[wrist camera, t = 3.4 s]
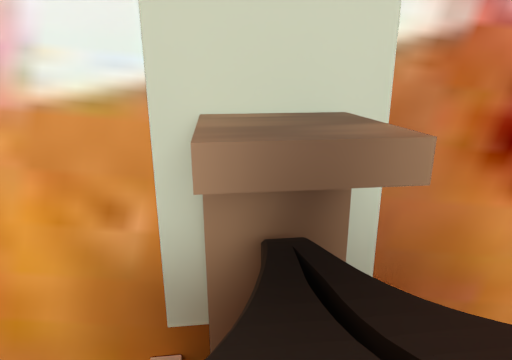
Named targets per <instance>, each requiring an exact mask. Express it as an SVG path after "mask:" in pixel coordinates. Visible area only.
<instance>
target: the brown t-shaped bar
mask: <svg viewBox="0 0 512 360" xmlns="http://www.w3.org/2000/svg"><path fill="white" fill-rule="evenodd" d="M436 140H437V137H436V136H432V135H428V134H425V133H421V132H417V131H414V130H410V129H406V128H402V127H399V126H395V125H391V124H388V123H384V122H380V121H377V120H373V119H369V118H366V117H362V116H358V115H355V114H351V113H347V112H314V113H250V114H200V116H199V119H198V122H197V125H196V128H195V131H194V134H193V137H192V140H191V161H192V178H193V195H202V194H203V215H204V235H205V255H206V275H207V296H208V316H209V336H210V353H211V352H212V351H213V350H214V349H215V348H216V347H217V345H218V344H219V343H220V342H221V341H222V339H223V338H224V337H225V336H226V335H227V333H228V332H229V331H230V329H231V328H232V327H233V325H234V324H235V322H236V321H237V319H238V318H239V316H240V314H241V313H242V311H243V309H244V308H245V306H246V304H247V302H248V300H249V298H250V296H251V294H252V292H253V289H254V287H255V284H256V281H257V278H258V275H259V272H260V268H261V242H263V241H264V240H265V239H278V238H296V237H305V238H307V239H309V240H311V241H313V242H314V243H316V244H317V245H319V246H321V247H322V248H324V249H325V250H327V251H328V252H330V253H332V254H333V255H335V256H336V257H338V258H340V259H341V260H343V261H344V262H346V254H347V241H348V229H349V216H350V203H351V190H352V188H374V187H398V186H423V185H430V181H431V174H432V168H433V161H434V154H435V147H436Z"/></svg>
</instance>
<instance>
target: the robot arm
mask: <svg viewBox="0 0 512 360" xmlns="http://www.w3.org/2000/svg"><path fill="white" fill-rule="evenodd" d="M204 360H512V325H511V324H506V323H502V322H498V321H494V320H491V319H487V318H483V317H479V316H475V315H471V314H468V313H464V312H461V311H458V310H454V309H451V308H448V307H445V306H442V305H439V304H436V303H433V302H430V301H427V300H424V299H422V298H419V297H416V296H414V295H411V294H409V293H406V292H404V291H402V290H399V289H397V288H395V287H392V286H390V285H388V284H386V283H383V282H381V281H379V280H377V279H375V278H373V277H371V276H370V275H368V274H366V273H364V272H362V271H360V270H358V269H356V268H355V267H353V266H351V265H350V264H348V263H346V262H344V261H343V260H341V259H340V258H338V257H336V256H335V255H333V254H332V253H330V252H328V251H327V250H325V249H324V248H322V247H321V246H319V245H317V244H316V243H314V242H313V241H311V240H309V239H307V238H305V237H296V238H278V239H265V240H264V241H263V242H261V268H260V272H259V275H258V278H257V281H256V284H255V287H254V289H253V292H252V294H251V296H250V298H249V300H248V302H247V304H246V306H245V308H244V309H243V311H242V313H241V314H240V316H239V318H238V319H237V321H236V322H235V324H234V325H233V327H232V328H231V329H230V331H229V332H228V333H227V335H226V336H225V337H224V338H223V339H222V341H221V342H220V343H219V344H218V345H217V347H216V348H215V349H214V350H213V351H212V352H211V353H210V355H209V356H208V357H207V358H206V359H204Z"/></svg>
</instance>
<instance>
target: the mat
mask: <svg viewBox="0 0 512 360" xmlns="http://www.w3.org/2000/svg"><path fill="white" fill-rule="evenodd" d="M400 8H401V0H139V11H140V22H141V34H142V45H143V56H144V67H145V78H146V90H147V101H148V112H149V123H150V134H151V146H152V157H153V168H154V179H155V190H156V202H157V213H158V224H159V235H160V246H161V258H162V269H163V280H164V291H165V302H166V314H167V325H168V327H180V326H192V325H204V324H209V316H208V296H207V275H206V255H205V235H204V215H203V194H202V195H193V178H192V161H191V140H192V137H193V134H194V131H195V128H196V125H197V122H198V119H199V116H200V114H250V113H314V112H347V113H351V114H355V115H358V116H362V117H366V118H369V119H373V120H377V121H380V122H384V123H389V114H390V104H391V94H392V85H393V75H394V66H395V56H396V46H397V37H398V27H399V17H400ZM381 191H382V187H374V188H352V190H351V203H350V216H349V229H348V241H347V254H346V263H348V264H350V265H351V266H353V267H355V268H356V269H358V270H360V271H362V272H364V273H366V274H368V275H370V276H371V277H373V268H374V258H375V248H376V239H377V229H378V220H379V210H380V200H381Z"/></svg>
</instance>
